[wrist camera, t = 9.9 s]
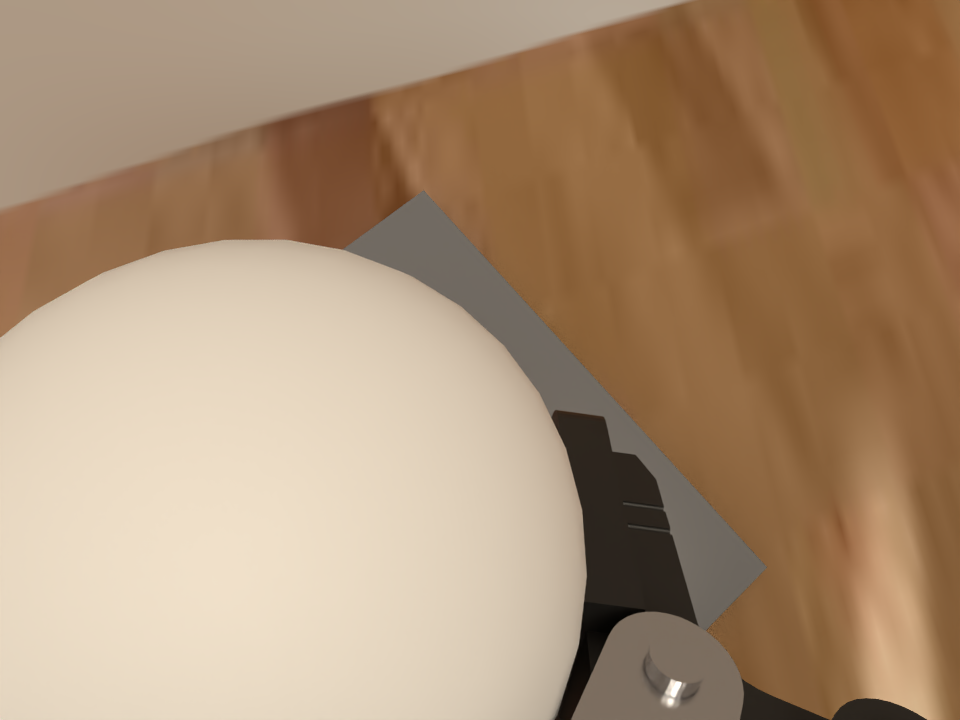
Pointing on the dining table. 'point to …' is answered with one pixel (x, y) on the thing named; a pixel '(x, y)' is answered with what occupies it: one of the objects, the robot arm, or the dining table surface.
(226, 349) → the lightbulb
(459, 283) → the ring holder
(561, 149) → the dining table surface
